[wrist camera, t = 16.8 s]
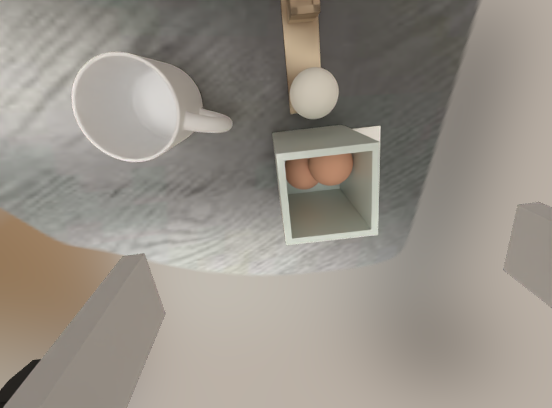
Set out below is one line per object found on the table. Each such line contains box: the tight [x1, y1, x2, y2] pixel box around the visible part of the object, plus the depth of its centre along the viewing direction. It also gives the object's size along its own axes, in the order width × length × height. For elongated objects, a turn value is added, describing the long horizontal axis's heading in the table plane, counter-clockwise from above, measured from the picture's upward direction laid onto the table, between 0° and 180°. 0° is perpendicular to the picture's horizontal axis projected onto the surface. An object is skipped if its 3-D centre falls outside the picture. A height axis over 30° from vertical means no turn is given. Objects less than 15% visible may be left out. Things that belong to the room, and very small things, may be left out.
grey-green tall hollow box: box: [272, 125, 380, 245], centre depth 30 cm, size 8×8×12 cm
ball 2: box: [308, 153, 353, 186], centre depth 29 cm, size 4×4×4 cm
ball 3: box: [285, 158, 319, 190], centre depth 33 cm, size 4×4×4 cm
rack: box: [281, 0, 321, 114], centre depth 28 cm, size 20×4×4 cm, turn 6°
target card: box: [353, 126, 380, 142], centre depth 35 cm, size 7×4×1 cm, turn 6°
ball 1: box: [290, 67, 339, 119], centre depth 26 cm, size 4×4×4 cm
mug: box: [71, 52, 233, 162], centre depth 28 cm, size 12×8×10 cm
